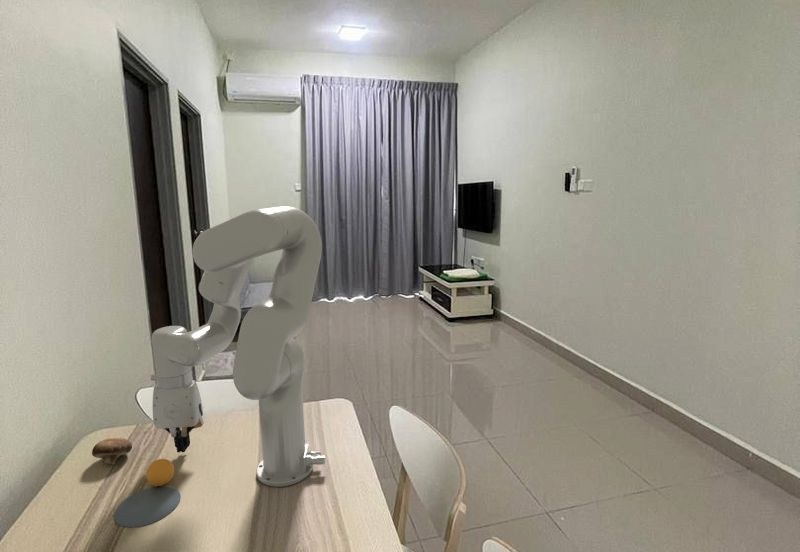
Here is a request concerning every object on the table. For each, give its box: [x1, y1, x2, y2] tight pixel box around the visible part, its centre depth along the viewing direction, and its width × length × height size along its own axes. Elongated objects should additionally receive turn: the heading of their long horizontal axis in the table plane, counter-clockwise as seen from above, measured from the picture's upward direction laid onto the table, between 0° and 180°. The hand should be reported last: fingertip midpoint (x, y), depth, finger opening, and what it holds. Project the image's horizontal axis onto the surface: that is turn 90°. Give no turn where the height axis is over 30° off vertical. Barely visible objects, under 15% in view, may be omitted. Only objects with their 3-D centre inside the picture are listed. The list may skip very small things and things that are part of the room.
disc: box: [113, 485, 182, 528], centre depth 94 cm, size 12×12×1 cm
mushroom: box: [91, 437, 133, 466], centre depth 109 cm, size 8×8×6 cm
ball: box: [145, 458, 175, 487], centre depth 100 cm, size 6×6×6 cm
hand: (183, 449), depth 111 cm, fingers closed
